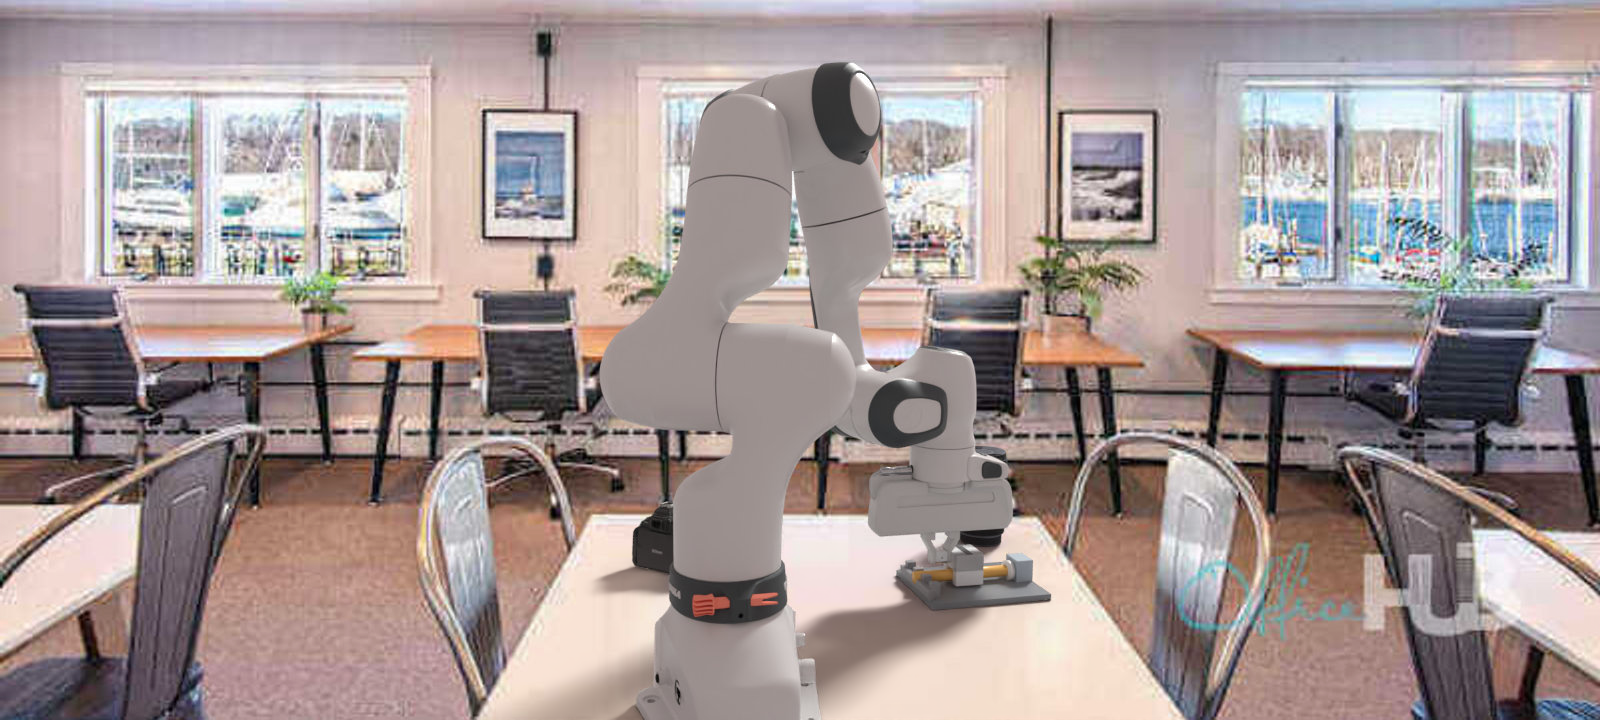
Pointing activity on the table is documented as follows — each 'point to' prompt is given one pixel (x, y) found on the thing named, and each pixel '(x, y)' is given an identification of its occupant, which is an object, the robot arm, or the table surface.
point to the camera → (655, 540)
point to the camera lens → (988, 535)
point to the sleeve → (966, 565)
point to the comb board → (998, 586)
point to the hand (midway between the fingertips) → (939, 562)
